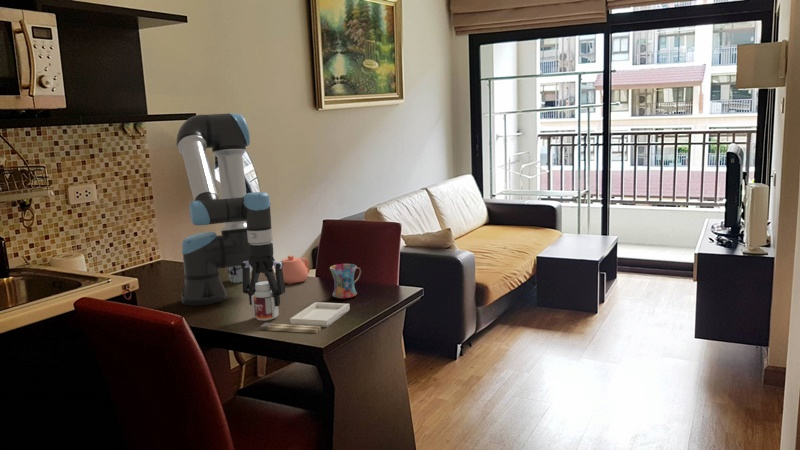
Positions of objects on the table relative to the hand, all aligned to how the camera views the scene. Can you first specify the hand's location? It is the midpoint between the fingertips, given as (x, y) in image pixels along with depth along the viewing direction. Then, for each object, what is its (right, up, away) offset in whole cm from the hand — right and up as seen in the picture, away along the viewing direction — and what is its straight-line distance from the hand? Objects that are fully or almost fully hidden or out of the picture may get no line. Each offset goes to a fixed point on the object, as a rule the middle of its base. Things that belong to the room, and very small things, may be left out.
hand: (265, 315), depth 202 cm
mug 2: (+24, +3, +23) cm, 33 cm away
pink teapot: (+1, +6, +47) cm, 48 cm away
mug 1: (-20, +7, +54) cm, 58 cm away
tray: (+17, 0, -1) cm, 17 cm away
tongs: (+10, -3, -12) cm, 16 cm away
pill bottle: (0, -1, 0) cm, 1 cm away
